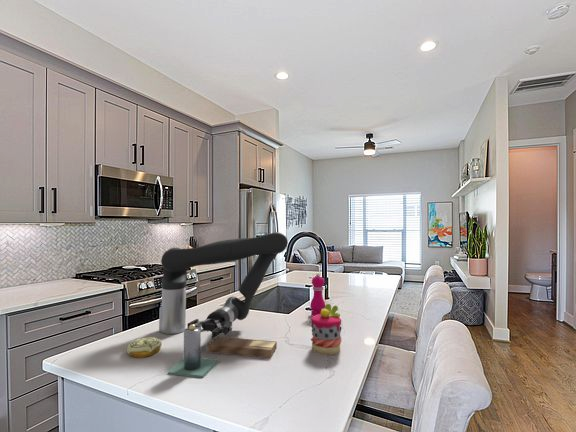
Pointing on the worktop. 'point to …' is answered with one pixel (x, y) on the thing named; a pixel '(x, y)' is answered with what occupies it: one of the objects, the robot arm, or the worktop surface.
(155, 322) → the worktop surface
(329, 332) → the cake
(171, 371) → the felt mat
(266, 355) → the plane body
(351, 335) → the worktop surface
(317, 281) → the pepper mill
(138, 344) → the decorated donut
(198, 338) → the cylinder with brass knob
